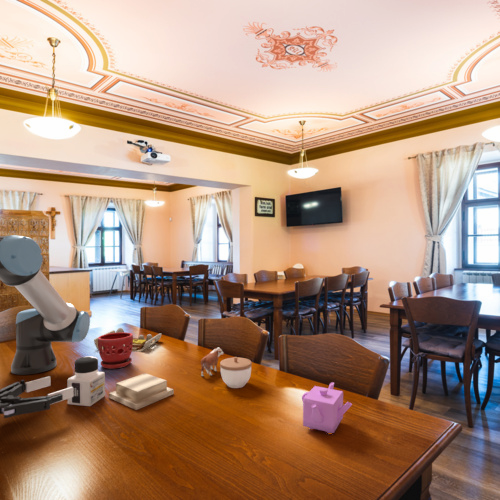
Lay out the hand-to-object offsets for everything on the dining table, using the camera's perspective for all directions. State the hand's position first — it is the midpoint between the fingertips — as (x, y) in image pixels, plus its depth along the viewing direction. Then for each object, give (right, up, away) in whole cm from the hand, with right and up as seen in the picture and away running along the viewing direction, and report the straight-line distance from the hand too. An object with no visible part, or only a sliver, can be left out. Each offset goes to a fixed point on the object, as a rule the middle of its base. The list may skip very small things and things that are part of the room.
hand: (60, 386), depth 105 cm
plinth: (+21, -7, +9) cm, 24 cm away
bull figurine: (+40, -7, +31) cm, 51 cm away
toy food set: (-2, -7, +67) cm, 67 cm away
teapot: (+75, -7, -10) cm, 76 cm away
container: (+5, -7, +6) cm, 11 cm away
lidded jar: (+50, -7, +19) cm, 54 cm away
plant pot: (+2, -7, +39) cm, 40 cm away
